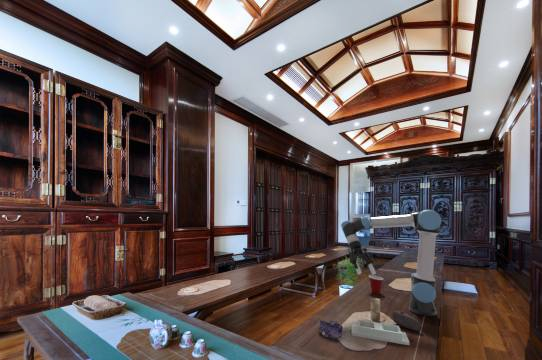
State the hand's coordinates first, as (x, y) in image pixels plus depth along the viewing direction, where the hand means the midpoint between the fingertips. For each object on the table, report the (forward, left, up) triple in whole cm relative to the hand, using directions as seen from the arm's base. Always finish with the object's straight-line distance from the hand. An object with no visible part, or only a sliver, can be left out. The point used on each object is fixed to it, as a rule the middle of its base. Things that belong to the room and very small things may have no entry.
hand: (367, 274), depth 157 cm
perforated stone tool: (-20, +10, -24) cm, 33 cm away
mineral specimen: (+19, +32, -24) cm, 45 cm away
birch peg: (-4, +8, -24) cm, 26 cm away
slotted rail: (-4, +26, -24) cm, 36 cm away
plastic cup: (-9, -50, -24) cm, 56 cm away
